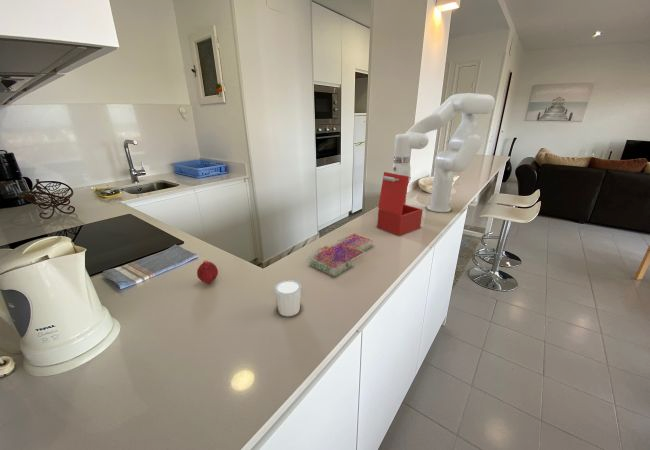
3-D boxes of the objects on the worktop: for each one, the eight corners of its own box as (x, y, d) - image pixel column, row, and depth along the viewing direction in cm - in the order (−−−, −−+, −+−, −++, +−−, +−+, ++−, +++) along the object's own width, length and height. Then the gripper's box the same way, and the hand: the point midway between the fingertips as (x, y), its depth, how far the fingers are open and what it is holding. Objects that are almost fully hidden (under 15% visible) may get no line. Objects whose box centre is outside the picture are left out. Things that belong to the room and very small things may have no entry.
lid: (385, 172, 121) (377, 171, 118) (409, 176, 112) (401, 176, 109) (379, 208, 126) (371, 208, 123) (401, 215, 117) (393, 216, 113)
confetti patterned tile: (352, 237, 118) (352, 226, 116) (382, 248, 108) (383, 236, 106) (299, 262, 97) (299, 249, 95) (331, 278, 88) (331, 264, 86)
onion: (223, 279, 87) (219, 257, 84) (210, 289, 82) (206, 265, 79) (208, 276, 89) (204, 254, 86) (194, 285, 84) (190, 262, 81)
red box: (398, 220, 138) (400, 203, 135) (420, 227, 129) (422, 209, 125) (377, 227, 129) (378, 209, 126) (398, 235, 120) (401, 216, 117)
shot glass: (291, 321, 69) (290, 298, 67) (270, 311, 73) (268, 289, 70) (307, 306, 75) (306, 284, 72) (287, 298, 78) (286, 276, 75)
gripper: (396, 163, 129) (393, 199, 135) (418, 158, 138) (415, 193, 145) (383, 161, 134) (382, 196, 141) (406, 157, 144) (403, 190, 151)
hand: (399, 194), depth 143 cm, fingers closed on soda can, 7 cm apart
